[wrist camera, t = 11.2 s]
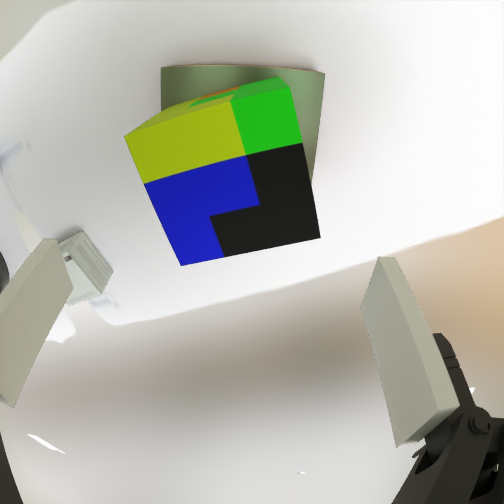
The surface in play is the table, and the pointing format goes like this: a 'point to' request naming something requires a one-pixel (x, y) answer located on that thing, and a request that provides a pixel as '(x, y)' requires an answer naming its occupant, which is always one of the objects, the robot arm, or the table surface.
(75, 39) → the table surface
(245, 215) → the puzzle toy
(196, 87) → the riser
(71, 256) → the small box
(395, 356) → the robot arm
